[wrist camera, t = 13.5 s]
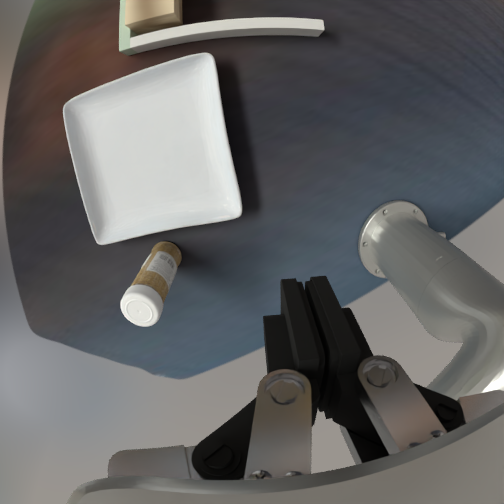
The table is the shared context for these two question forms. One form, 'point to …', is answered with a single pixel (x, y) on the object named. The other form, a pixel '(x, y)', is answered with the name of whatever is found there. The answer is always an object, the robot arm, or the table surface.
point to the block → (152, 15)
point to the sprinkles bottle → (151, 285)
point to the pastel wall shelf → (213, 31)
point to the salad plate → (153, 151)
